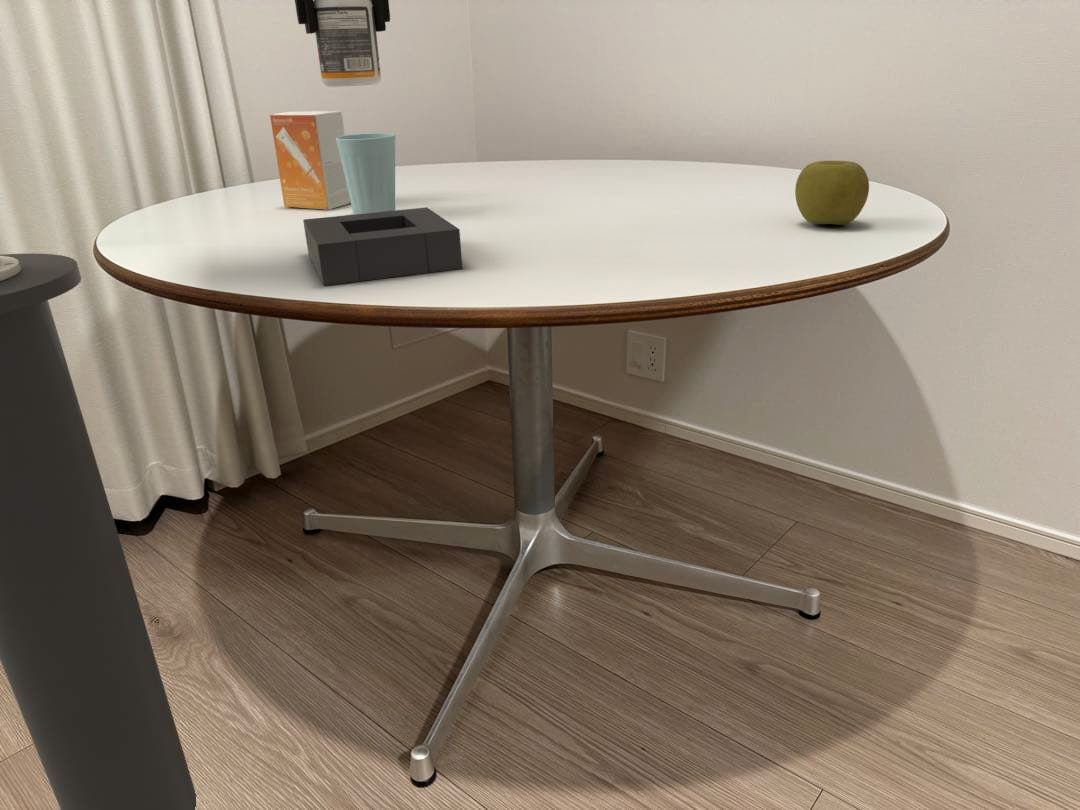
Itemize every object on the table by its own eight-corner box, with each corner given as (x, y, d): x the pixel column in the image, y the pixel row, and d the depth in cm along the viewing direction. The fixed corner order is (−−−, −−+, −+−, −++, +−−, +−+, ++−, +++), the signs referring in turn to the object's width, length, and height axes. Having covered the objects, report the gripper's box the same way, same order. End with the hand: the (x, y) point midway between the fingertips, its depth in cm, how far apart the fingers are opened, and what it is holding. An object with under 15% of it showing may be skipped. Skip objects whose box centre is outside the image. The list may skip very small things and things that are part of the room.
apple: (791, 218, 97) (797, 157, 94) (861, 219, 95) (869, 157, 92) (792, 231, 90) (798, 166, 87) (866, 232, 88) (875, 166, 85)
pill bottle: (336, 85, 81) (322, -25, 77) (389, 83, 80) (378, -28, 76) (313, 87, 76) (296, -30, 72) (369, 86, 75) (356, -34, 71)
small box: (283, 208, 116) (267, 114, 111) (310, 200, 121) (297, 110, 116) (328, 210, 113) (314, 113, 108) (354, 202, 118) (342, 110, 113)
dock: (323, 286, 75) (317, 244, 74) (308, 255, 87) (302, 219, 86) (462, 268, 80) (459, 228, 78) (430, 242, 92) (427, 207, 90)
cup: (335, 220, 106) (324, 138, 101) (363, 210, 112) (354, 132, 108) (385, 222, 103) (377, 138, 99) (412, 211, 110) (404, 132, 106)
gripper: (405, -181, 74) (424, 31, 82) (211, -192, 69) (250, 36, 76) (424, -204, 68) (442, 28, 75) (212, -219, 62) (254, 33, 70)
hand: (345, 30), depth 76 cm, fingers closed on pill bottle, 5 cm apart
